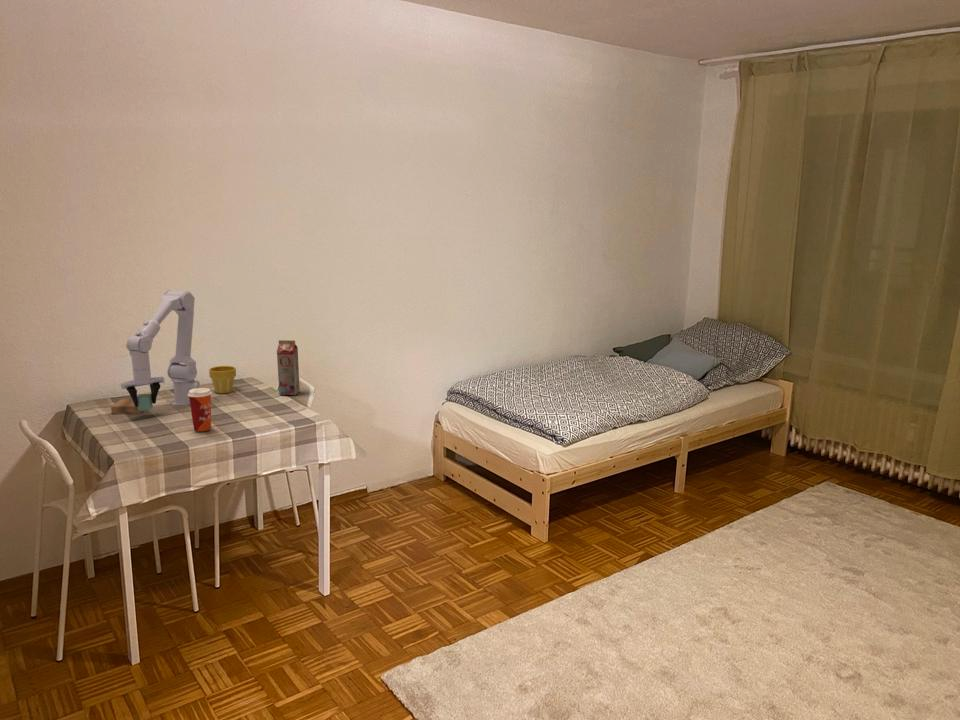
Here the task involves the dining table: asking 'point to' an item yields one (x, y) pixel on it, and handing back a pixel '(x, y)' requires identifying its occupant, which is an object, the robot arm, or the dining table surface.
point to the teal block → (144, 402)
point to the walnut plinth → (125, 407)
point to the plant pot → (222, 378)
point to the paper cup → (200, 408)
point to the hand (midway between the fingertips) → (145, 404)
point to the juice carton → (288, 367)
